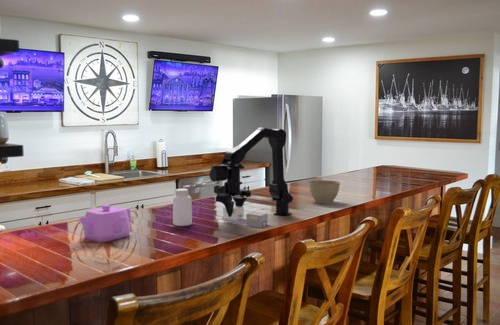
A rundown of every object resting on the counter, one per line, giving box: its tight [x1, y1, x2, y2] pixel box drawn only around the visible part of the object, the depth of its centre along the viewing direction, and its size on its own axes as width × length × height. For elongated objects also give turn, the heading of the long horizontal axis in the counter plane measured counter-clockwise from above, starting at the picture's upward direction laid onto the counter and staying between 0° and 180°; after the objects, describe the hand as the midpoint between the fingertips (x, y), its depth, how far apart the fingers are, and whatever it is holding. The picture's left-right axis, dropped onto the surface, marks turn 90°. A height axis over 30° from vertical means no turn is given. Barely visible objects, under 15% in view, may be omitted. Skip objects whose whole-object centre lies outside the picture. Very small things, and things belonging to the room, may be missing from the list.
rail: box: [217, 216, 270, 228], centre depth 208 cm, size 8×22×2 cm, turn 57°
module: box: [222, 205, 245, 220], centre depth 210 cm, size 6×7×5 cm
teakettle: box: [78, 204, 132, 243], centre depth 186 cm, size 17×17×12 cm
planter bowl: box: [308, 179, 341, 204], centre depth 256 cm, size 16×16×11 cm
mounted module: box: [245, 211, 269, 228], centre depth 204 cm, size 6×7×5 cm
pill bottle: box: [172, 188, 193, 227], centre depth 206 cm, size 8×8×15 cm
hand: (233, 215), depth 210 cm, fingers closed on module, 5 cm apart
